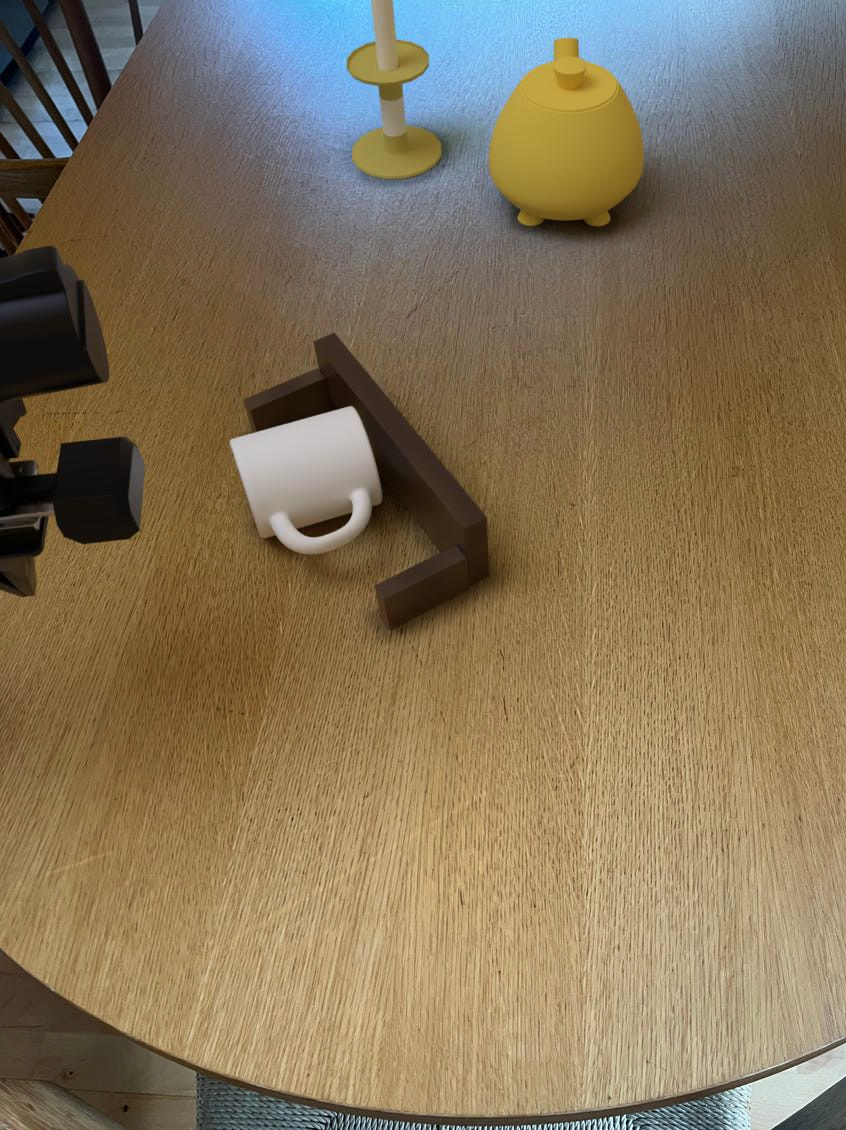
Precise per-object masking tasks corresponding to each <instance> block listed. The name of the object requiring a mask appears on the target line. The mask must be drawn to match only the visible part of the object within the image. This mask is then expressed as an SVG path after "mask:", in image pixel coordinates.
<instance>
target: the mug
mask: <svg viewBox="0 0 846 1130" xmlns="http://www.w3.org/2000/svg"><path fill="white" fill-rule="evenodd" d="M229 446H230V448H231V452H232V454H233V457H234V460H235V463H236V464H235V465H236V467H237V470H238V474H239V476H240V479H241V482H242V486H243V489H244V491H245V494H246V497H247V501H248V504H249V506H250V509H251V513H252V516H253V519H254V522H255V525H256V528H257V531H258V534H259V537H260V538H261V539H267V538H271V537H275V536H276V538H277V539H278V540H279V541H280V543H281V544H283V545H284V547H286V548H288V549H289V550H290V551H293V552H295V553H297V554H303V555H319V554H324V553H328V552H331V551H332V552H333V551H334V550H337V549H339V548H341V547H343V546H345V545H346V544H347V545H348V544H349V543H350V542H352V541H353V540H355V539H356V538H357V537H358V536H359V535H360V534H361V533H362V532H363V531H364V530H365V529H366V527H367V525H368V524H369V522H370V520H371V517H372V512H373V511H372V510H373V507H375V506H379V505H381V503H382V501H383V490H382V484H381V479H380V473H379V472H378V470H377V466H376V462H375V459H374V455H373V452H372V449H371V445H370V442H369V439H368V436H367V434H366V431H365V428H364V426H363V423H362V421H361V419H360V416H359V414H358V413H357V411H356V409H355V408H354V407H352V406H349V407H345V408H342V409H338V410H335V411H331V412H327V413H324V414H320V415H317V416H313V417H309V418H306V419H302V420H298V421H295V422H291V423H288V424H284V425H280V426H277V427H273V428H270V429H266V430H262V431H259V432H255V433H253V432H252V433H247V434H245V435H241V436H238V437H234V438H231V439H230V440H229ZM349 514H351V517H350V518H349V520H348V522H347V523H346V524H345V525H343V526H342V527H341V528H338V529H337V530H335V531H333V532H330V533H327V534H325V535H322V536H316V537H315V536H313V537H311V536H307V535H305V534H303V533H301V532H300V531H299V530H298V529H301V528H304V527H308V526H311V525H314V524H318V523H321V522H324V521H328V520H331V519H336V518H338V517H341V516H345V515H349Z"/></svg>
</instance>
